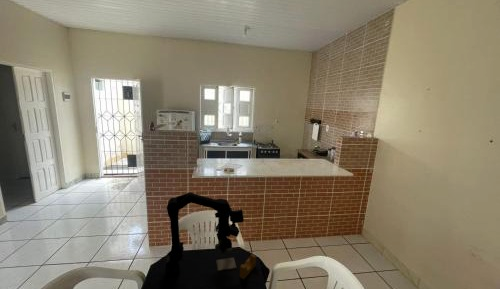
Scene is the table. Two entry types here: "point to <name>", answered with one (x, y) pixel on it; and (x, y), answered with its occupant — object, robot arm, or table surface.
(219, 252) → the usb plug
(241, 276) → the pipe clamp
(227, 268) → the trivet
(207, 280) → the table surface
